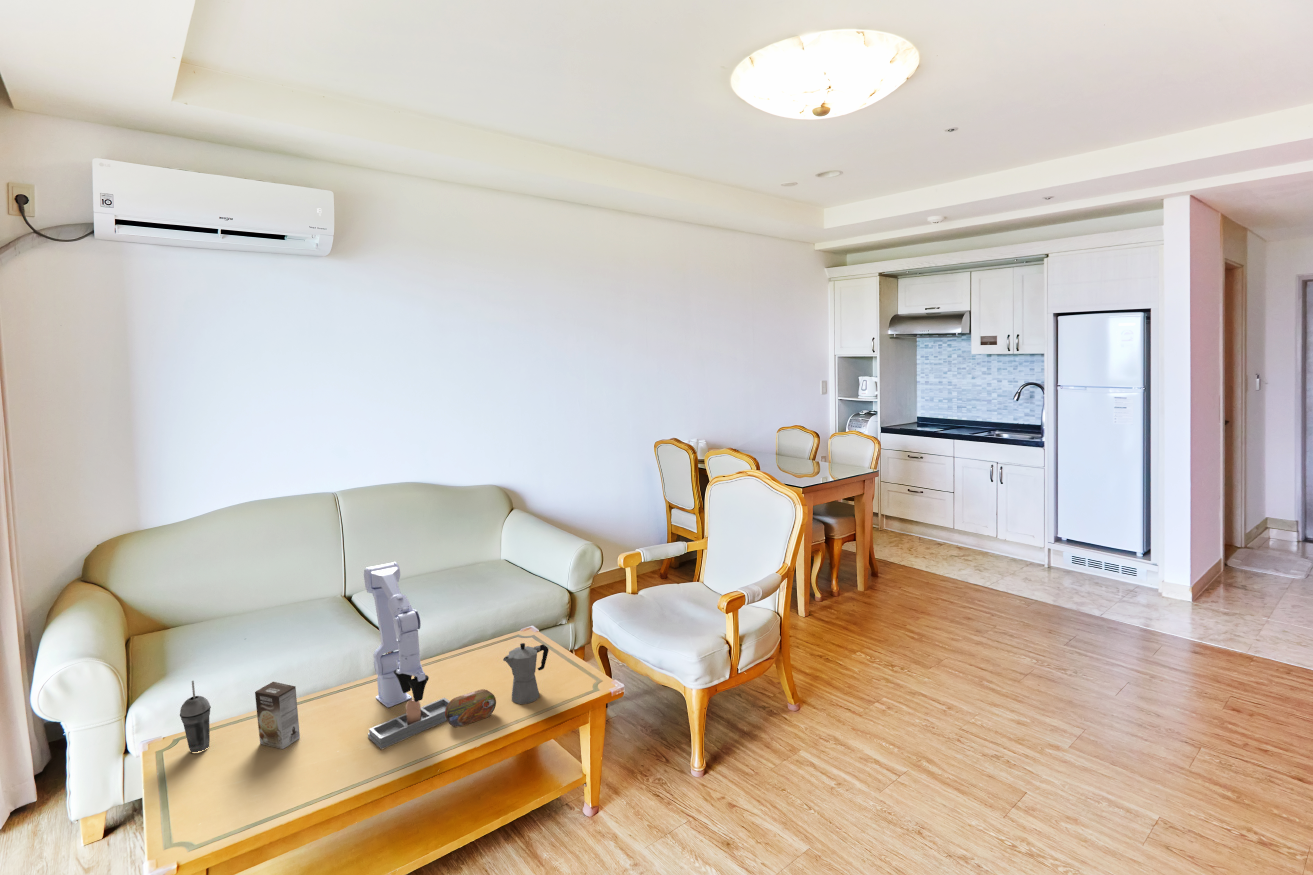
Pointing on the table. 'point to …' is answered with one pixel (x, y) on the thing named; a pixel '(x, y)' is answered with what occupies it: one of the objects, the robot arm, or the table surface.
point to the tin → (470, 708)
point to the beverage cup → (196, 721)
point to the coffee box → (277, 715)
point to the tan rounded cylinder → (413, 711)
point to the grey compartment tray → (401, 730)
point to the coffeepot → (525, 672)
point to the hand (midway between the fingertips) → (412, 695)
